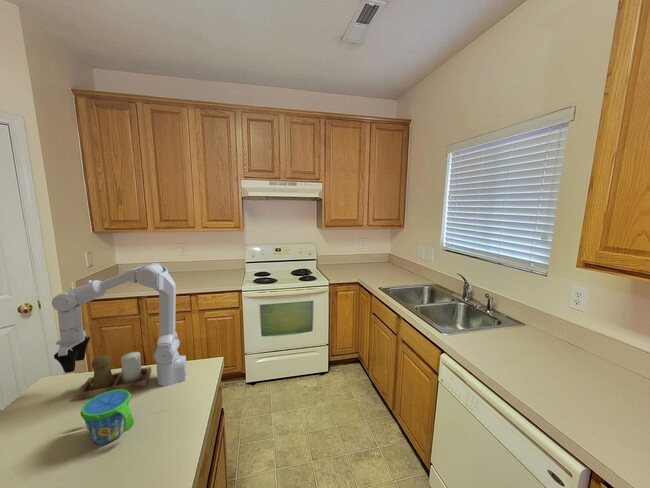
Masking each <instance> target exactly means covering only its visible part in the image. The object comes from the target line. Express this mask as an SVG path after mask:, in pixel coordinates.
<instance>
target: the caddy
mask: <svg viewBox="0 0 650 488" xmlns="http://www.w3.org/2000/svg"><path fill="white" fill-rule="evenodd" d="M141 372H142V381H138V382H133V383H128V384H123V377H122V371H121V372H114V373H112V376H113V380H114V383H113V385H112V387H107V388H102V389H97V390H93V379H94V376H92V377H88V379H87V380H86V382H85V383H84V384H83V386H82V387H80V389H79V391H78V392H77V394H76V402H79V401H83V400H84V401H85V400H88V399H89V400H90V399H92V398H94V397H95V396H97V395H99V394H102V393H104V392H108V391H111V390H118V389H122V390H127V391H128V392H129V391H134V390H137V389H142V388H147V385H148V382H149V379H150V377H151V374H152V366H148V367H141Z"/></svg>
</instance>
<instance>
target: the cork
mask: <svg viewBox="0 0 650 488" xmlns="http://www.w3.org/2000/svg"><path fill="white" fill-rule="evenodd" d="M111 363H112V358H111V357H110V356H109V355H101V356H98V357H95V358H94V359H93V360H92V362H91V367H92V369H93V377H94V379H93V390H97V389H102V388H107V387H112V385H113V383H114V380H113V376H112V374H113V373H112V369H111V366H110V365H111Z"/></svg>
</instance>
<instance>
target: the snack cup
mask: <svg viewBox="0 0 650 488" xmlns="http://www.w3.org/2000/svg"><path fill="white" fill-rule="evenodd" d="M131 397H132V394H131V393H130V392H129V391H127V390H122V389H118V390H111V391H108V392H104V393H102V394H99V395H97V396H95V397H94V398H90V399H89V400H87V402H85V403H84V404H83V406H82V408H81V411H80V417H81V418H82V419H83V420H84V422H85V426H86V428H87V431H88V434H89V438H90V440H91V443H93V444H94V445H102V446H103V445H105V444H107V443H110V442H113V441H115V440H116V439H119V438H120V436H121V435H122V434H123V433H124V432H129V430H130V429H132V427H134V424H135V420H134V417H133V415H132V412H131V409H130V407H129V406H130V405H129V403H130V401H131Z"/></svg>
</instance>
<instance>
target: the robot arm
mask: <svg viewBox="0 0 650 488" xmlns="http://www.w3.org/2000/svg"><path fill="white" fill-rule="evenodd" d="M127 282H128V283H133V284H137V283H138V284H139V285H142V286H143V287H147V288H150V289H153V290H155V291H156V292H157V293H158V294H159V295H158V297H159V301H158V304H159V306H158V307H159V309H158V310H159V311H158V313H159V315H158V317H159V321H158V323H159V324H158V325H159V326H158V330H159V331H158V339H157V343H156V350H155V352H154V353H153V359H154V361H155V362H156V372H157V373H156V374H157V385H158V386H160V387H167V386H171V385H172V386H173V385H174V384H178V383H182V382H186V380H187V376H188V369H187V357H186V356H187V355H180V352H179V351H178V349H179V348H180V346H181V341H180V339H179V338H178V333H177V331H176V312H177V311H176V310H177V308H176V303H177V302H176V300H177V299H176V298H177V297H176V296H177V291H176V290H177V285H176V282H175V280H174V279H173V277H172V276H171V275H170V273H169V271H168V268H167V267H165V266H164V265H163V264H161V263H159V262H155V261H154V262H150V263H149V264H147V265H146V264H144V265H140V266H136V267H134V268H130V269H128V270H126V271H123V272H121V273H119V274H117V275H114V276H112V277H110V278H108V279H105V280H103V281H102V280H97V279H95V280H92V279H90V280H87V281H84V284H82V285H80V286H77V287H76V286H73V287H71V288H69V290H66V291H64V292H62V293H59V294H57V295H55V297H53V298H52V301H51V306H52V308H53V309H54V310H56V311H57V321H58V331H59V340H57V341H56V342H55V345H58V346H59V347H58V350H57V352H55V353H54V355H53V358H54V359H55V360H56V361H57V362H58V363H59V364H60V365H61V367H62V370H63V371H64V373H65V374H70V373H74V371H76V370H75V369H76V362H79V361H80V362H81V361H83V360H85V357H86V351H87V347H88V345H89V342H90V340H91V336H87V333H86V330H84V323H83V322H84V321H83V312H82V311H83V310H82V305H84V304H86V303H88V302H90V301H93V300H96V299H98V298H101V297H102V296H105V295H106V292H107V290H109V289H113V288H115V287H119V286H121V285H123V284H126V283H127Z"/></svg>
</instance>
